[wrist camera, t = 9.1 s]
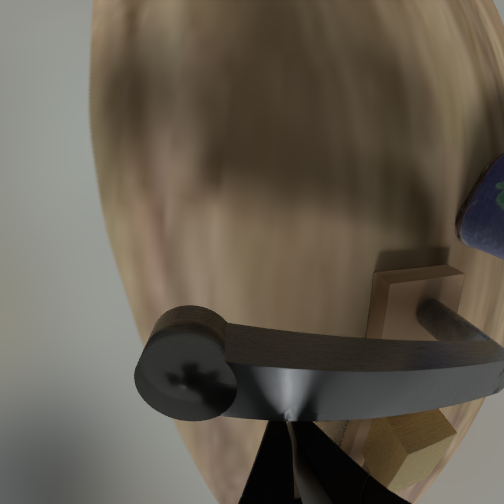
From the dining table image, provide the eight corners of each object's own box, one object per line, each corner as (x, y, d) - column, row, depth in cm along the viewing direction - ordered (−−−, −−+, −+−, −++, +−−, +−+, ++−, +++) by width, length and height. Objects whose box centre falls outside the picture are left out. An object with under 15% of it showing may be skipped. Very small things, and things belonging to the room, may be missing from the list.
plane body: (391, 446, 21) (410, 480, 16) (335, 461, 21) (349, 501, 16) (446, 264, 16) (496, 290, 11) (373, 272, 16) (420, 307, 11)
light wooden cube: (402, 439, 18) (425, 478, 13) (361, 451, 18) (380, 496, 13) (423, 390, 16) (457, 432, 12) (378, 403, 16) (407, 454, 11)
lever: (177, 300, 13) (136, 410, 6) (183, 250, 12) (133, 335, 6) (431, 330, 15) (502, 396, 8) (445, 295, 14) (527, 352, 7)
